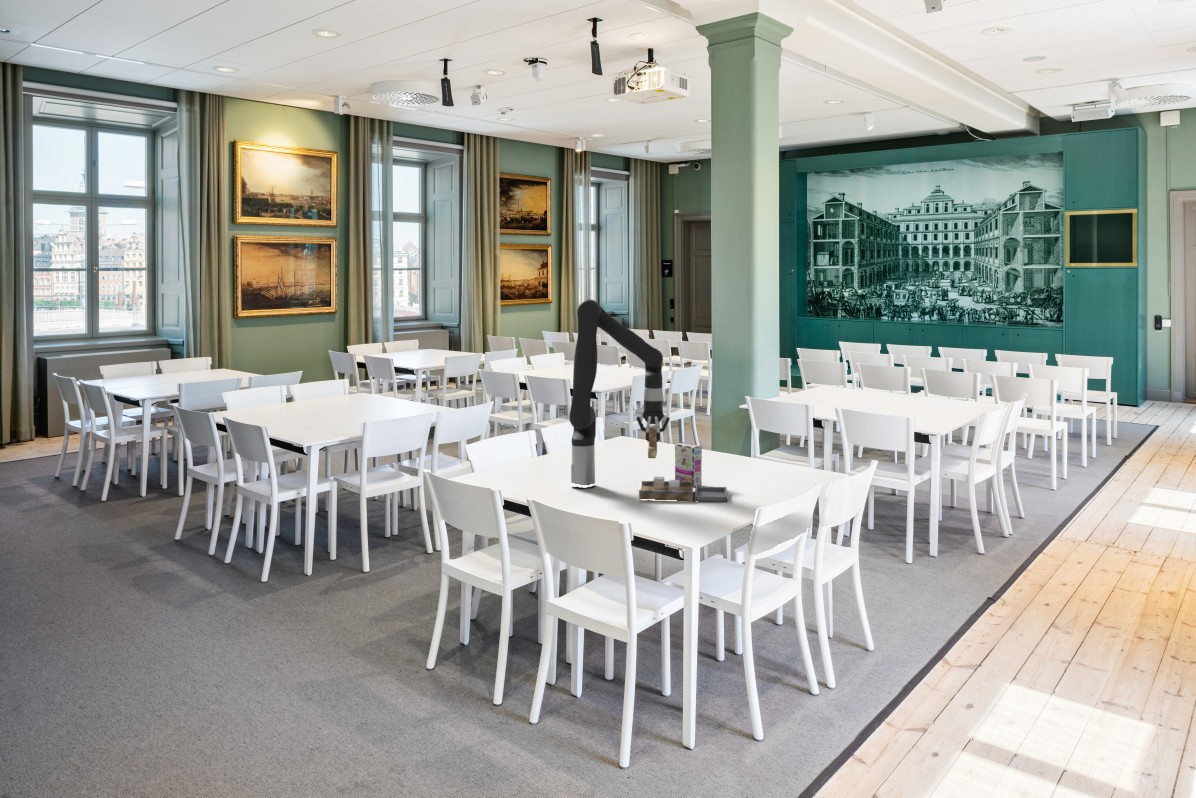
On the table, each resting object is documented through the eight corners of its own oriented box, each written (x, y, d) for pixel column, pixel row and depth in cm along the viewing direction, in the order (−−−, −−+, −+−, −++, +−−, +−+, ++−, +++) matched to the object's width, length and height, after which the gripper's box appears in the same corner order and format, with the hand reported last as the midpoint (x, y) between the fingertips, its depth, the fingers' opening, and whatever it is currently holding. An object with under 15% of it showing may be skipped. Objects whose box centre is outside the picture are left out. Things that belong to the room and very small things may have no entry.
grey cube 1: (653, 489, 348) (653, 478, 347) (654, 486, 352) (654, 476, 351) (664, 489, 347) (663, 479, 347) (664, 486, 351) (664, 476, 351)
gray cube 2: (668, 492, 342) (668, 482, 342) (669, 489, 346) (669, 479, 346) (679, 492, 342) (679, 482, 341) (679, 490, 346) (679, 479, 345)
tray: (695, 501, 338) (695, 496, 337) (695, 491, 353) (695, 486, 353) (727, 502, 336) (727, 497, 336) (726, 492, 352) (726, 487, 352)
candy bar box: (702, 486, 363) (702, 445, 360) (693, 487, 360) (693, 447, 357) (683, 481, 371) (683, 442, 369) (674, 482, 368) (674, 443, 366)
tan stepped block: (648, 458, 356) (648, 430, 355) (649, 452, 367) (649, 426, 365) (655, 458, 356) (656, 431, 354) (657, 452, 367) (657, 426, 365)
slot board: (639, 501, 340) (639, 490, 339) (641, 490, 356) (641, 480, 355) (692, 501, 338) (692, 491, 337) (692, 491, 353) (692, 481, 353)
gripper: (635, 399, 355) (634, 442, 358) (670, 400, 354) (670, 443, 356) (636, 397, 363) (636, 439, 365) (671, 397, 361) (670, 440, 364)
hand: (652, 441), depth 361 cm, fingers closed on tan stepped block, 3 cm apart
